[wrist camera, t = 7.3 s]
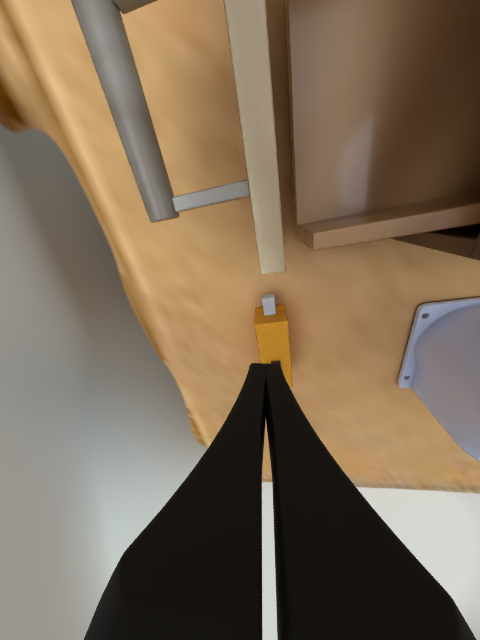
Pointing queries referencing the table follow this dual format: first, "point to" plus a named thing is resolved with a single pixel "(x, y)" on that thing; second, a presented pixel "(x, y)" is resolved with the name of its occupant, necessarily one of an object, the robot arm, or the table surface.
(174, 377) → the table surface
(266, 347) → the box cutter
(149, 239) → the table surface
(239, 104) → the drawer
